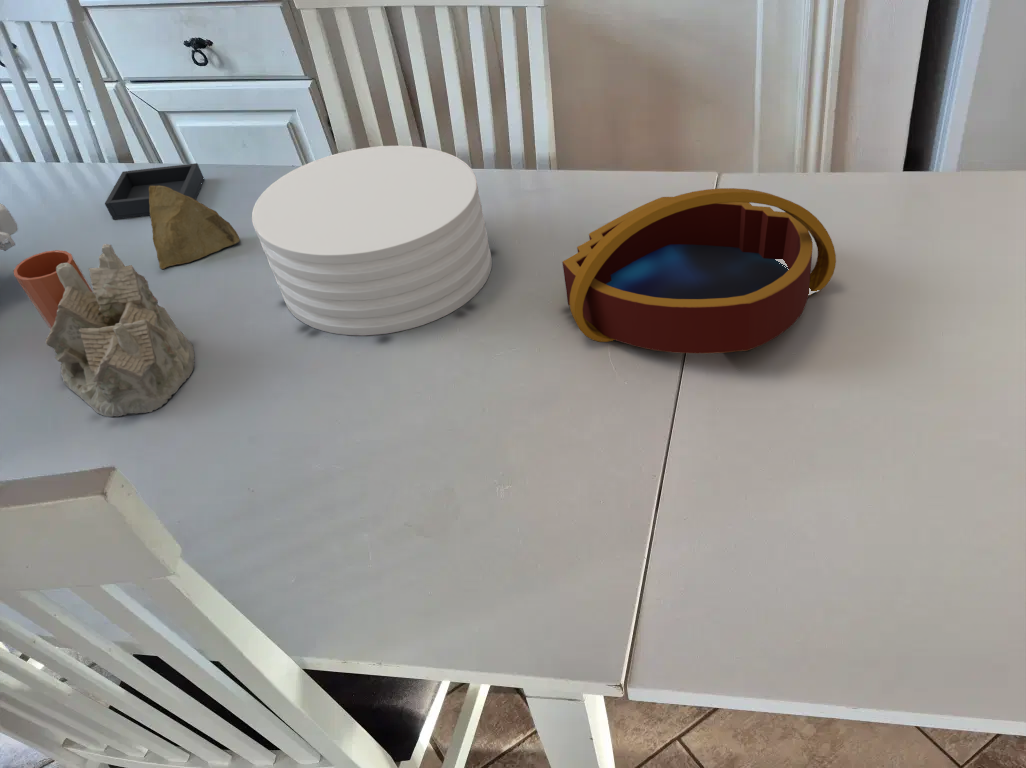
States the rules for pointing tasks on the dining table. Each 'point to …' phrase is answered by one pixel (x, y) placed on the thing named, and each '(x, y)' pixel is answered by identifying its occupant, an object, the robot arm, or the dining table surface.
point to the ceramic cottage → (117, 340)
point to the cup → (45, 281)
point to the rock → (185, 228)
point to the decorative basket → (698, 272)
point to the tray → (134, 188)
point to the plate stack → (375, 239)
